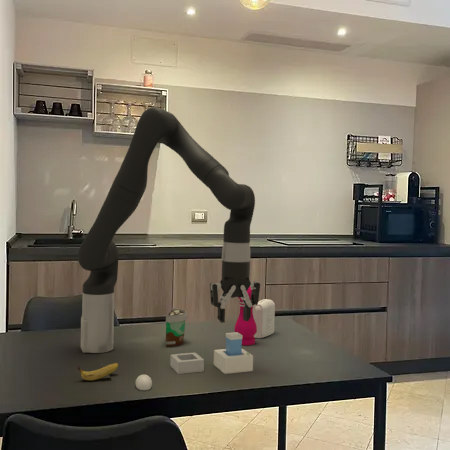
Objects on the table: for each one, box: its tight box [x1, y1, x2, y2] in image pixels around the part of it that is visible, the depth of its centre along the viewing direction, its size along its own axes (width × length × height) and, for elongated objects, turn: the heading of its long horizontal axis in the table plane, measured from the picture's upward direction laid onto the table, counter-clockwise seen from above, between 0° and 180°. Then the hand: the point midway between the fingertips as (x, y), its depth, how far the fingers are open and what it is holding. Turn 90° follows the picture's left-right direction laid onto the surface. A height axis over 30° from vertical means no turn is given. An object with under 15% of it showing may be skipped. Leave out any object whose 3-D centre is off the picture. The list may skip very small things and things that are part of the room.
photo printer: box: [253, 298, 276, 339], centre depth 181 cm, size 10×4×12 cm, turn 148°
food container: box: [165, 307, 189, 348], centre depth 168 cm, size 12×6×10 cm, turn 179°
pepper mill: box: [234, 287, 257, 346], centre depth 170 cm, size 7×7×20 cm
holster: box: [169, 352, 205, 375], centre depth 140 cm, size 7×7×4 cm
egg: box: [135, 374, 153, 391], centre depth 126 cm, size 4×6×4 cm, turn 16°
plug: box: [225, 331, 243, 356], centre depth 142 cm, size 3×3×9 cm
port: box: [213, 348, 254, 375], centre depth 142 cm, size 8×8×5 cm
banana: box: [77, 362, 120, 381], centre depth 132 cm, size 10×2×4 cm, turn 108°
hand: (234, 321), depth 141 cm, fingers open, 6 cm apart
